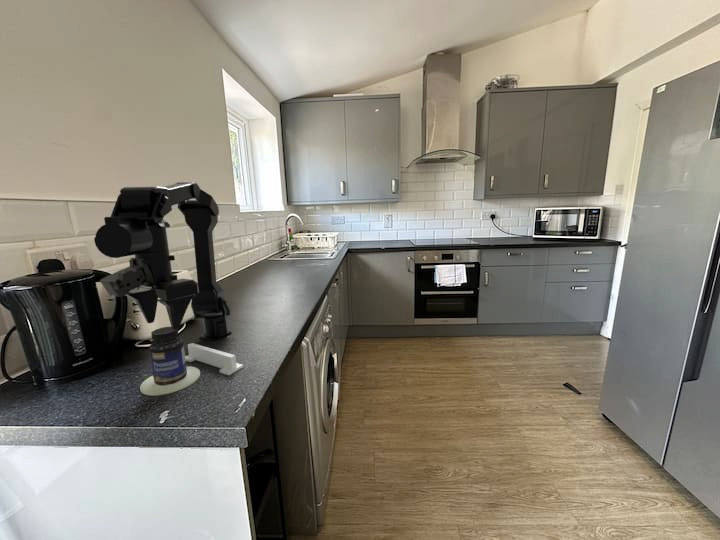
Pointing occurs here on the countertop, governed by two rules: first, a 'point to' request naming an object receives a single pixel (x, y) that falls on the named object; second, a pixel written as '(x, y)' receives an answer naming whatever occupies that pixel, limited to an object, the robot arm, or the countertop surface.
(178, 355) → the pill bottle
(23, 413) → the countertop surface
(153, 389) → the pad
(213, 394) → the countertop surface
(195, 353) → the low wall
